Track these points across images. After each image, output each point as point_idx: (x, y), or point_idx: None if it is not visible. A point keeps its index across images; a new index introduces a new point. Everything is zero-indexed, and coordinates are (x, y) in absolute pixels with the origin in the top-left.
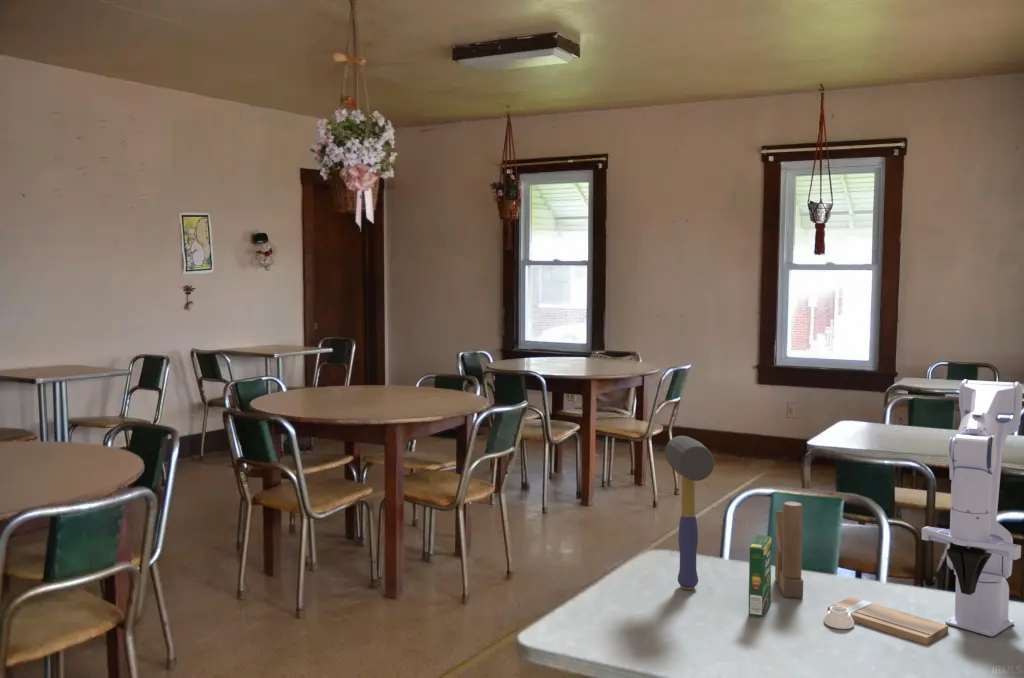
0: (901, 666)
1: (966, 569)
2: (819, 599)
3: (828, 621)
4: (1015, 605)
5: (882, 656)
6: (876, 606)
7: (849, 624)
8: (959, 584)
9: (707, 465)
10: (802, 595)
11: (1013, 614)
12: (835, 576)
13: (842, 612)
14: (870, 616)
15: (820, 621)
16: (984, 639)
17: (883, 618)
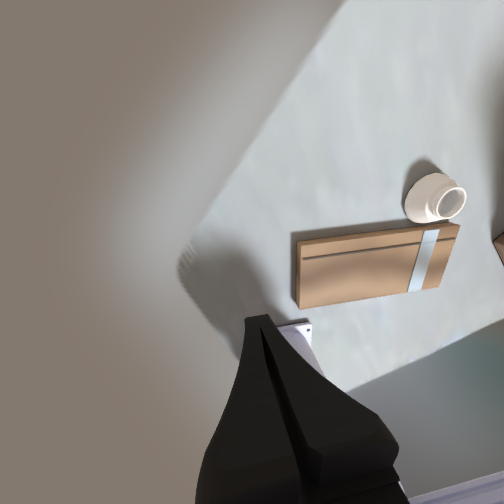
0: (284, 117)
1: (265, 382)
2: (469, 258)
3: (446, 175)
4: None
5: (326, 132)
6: (399, 286)
7: (413, 196)
8: (277, 328)
9: None
10: (498, 242)
11: None
12: (464, 334)
13: (443, 194)
14: (396, 246)
15: None
16: None
17: (377, 257)
